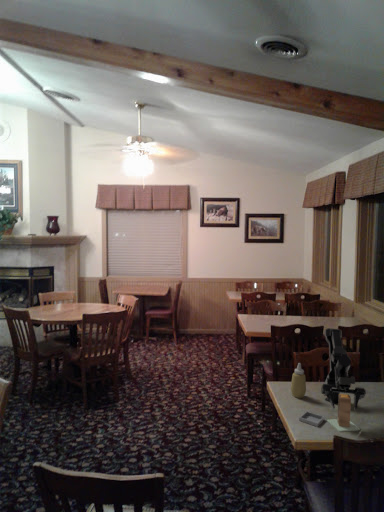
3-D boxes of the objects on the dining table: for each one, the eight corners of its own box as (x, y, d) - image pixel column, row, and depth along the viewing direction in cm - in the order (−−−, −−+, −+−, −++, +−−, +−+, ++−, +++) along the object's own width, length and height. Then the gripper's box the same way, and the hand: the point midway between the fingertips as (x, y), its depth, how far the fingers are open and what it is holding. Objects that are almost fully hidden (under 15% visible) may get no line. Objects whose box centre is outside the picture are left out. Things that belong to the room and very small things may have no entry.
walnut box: (337, 421, 177) (338, 393, 177) (347, 422, 176) (349, 394, 176) (338, 425, 173) (340, 397, 172) (349, 427, 172) (351, 398, 171)
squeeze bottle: (288, 393, 210) (289, 360, 209) (302, 393, 211) (303, 360, 209) (293, 399, 202) (294, 366, 201) (308, 399, 203) (309, 365, 201)
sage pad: (327, 421, 179) (327, 419, 179) (346, 420, 181) (346, 418, 181) (339, 432, 169) (339, 430, 169) (359, 431, 171) (360, 428, 171)
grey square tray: (306, 415, 185) (306, 411, 185) (324, 420, 179) (324, 416, 179) (299, 421, 178) (299, 417, 178) (317, 427, 173) (317, 423, 173)
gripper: (323, 366, 179) (325, 400, 169) (366, 370, 175) (370, 404, 165) (320, 377, 187) (322, 409, 177) (361, 381, 183) (365, 414, 173)
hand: (344, 409), depth 173 cm, fingers open, 9 cm apart
